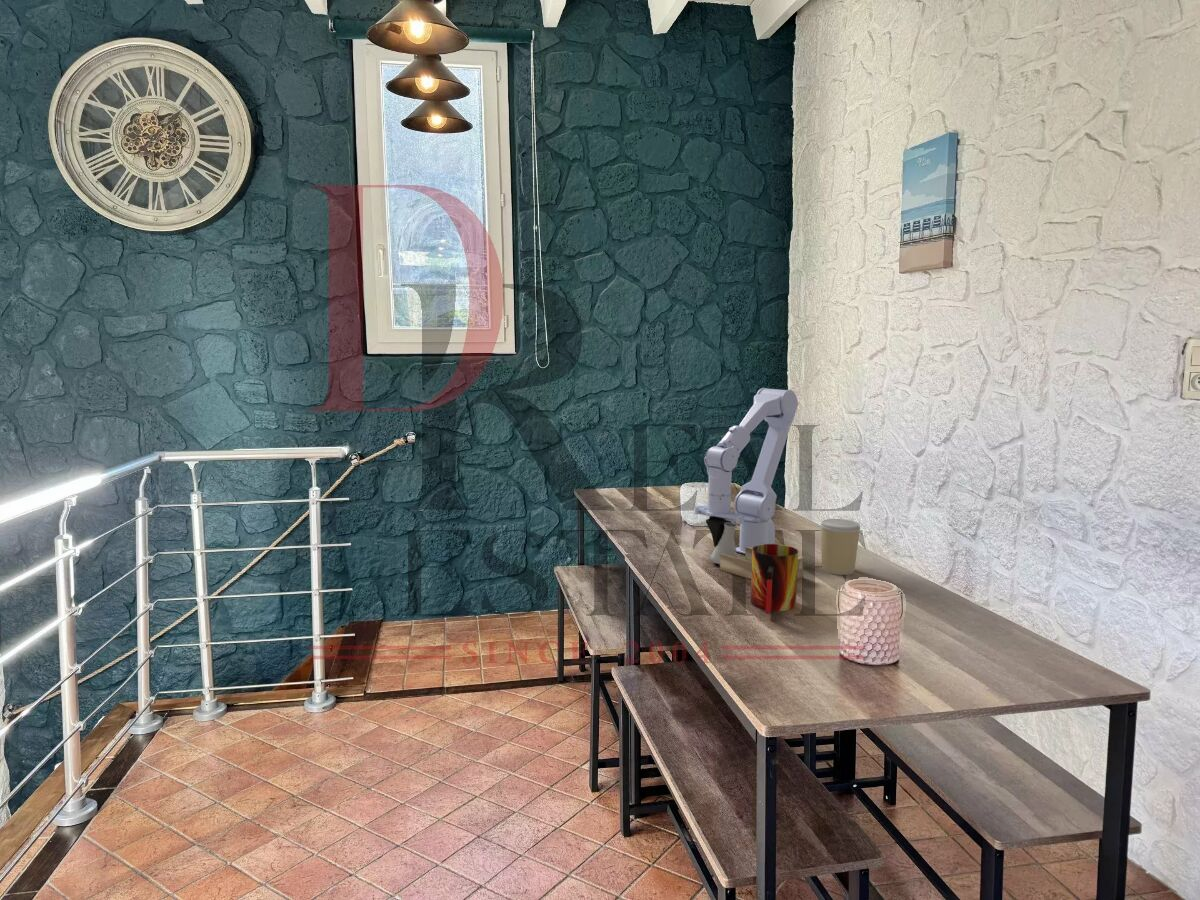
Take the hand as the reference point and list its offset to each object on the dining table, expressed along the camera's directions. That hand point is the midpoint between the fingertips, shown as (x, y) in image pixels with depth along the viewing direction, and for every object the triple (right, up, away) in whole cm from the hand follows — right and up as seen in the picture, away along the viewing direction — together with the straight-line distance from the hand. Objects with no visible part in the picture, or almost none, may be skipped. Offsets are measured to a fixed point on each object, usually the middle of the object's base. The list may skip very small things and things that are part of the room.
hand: (717, 546), depth 205 cm
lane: (+9, -6, -9) cm, 14 cm away
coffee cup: (+29, -5, -6) cm, 30 cm away
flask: (+1, -4, -1) cm, 4 cm away
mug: (+8, -9, -33) cm, 35 cm away
